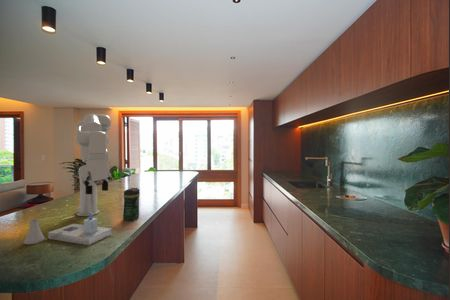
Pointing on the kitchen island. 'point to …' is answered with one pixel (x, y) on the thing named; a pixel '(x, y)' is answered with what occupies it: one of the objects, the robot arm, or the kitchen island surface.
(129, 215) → the coffee jar
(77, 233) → the panel
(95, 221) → the plug
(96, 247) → the kitchen island surface
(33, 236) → the flask
